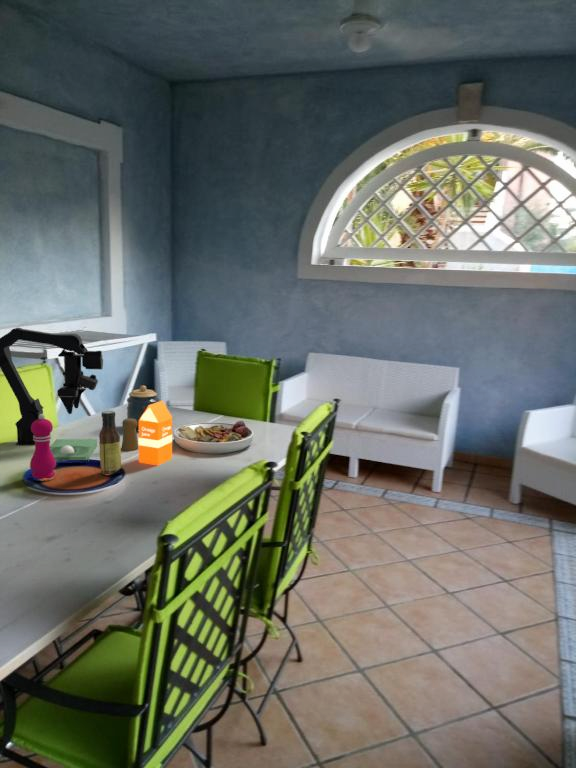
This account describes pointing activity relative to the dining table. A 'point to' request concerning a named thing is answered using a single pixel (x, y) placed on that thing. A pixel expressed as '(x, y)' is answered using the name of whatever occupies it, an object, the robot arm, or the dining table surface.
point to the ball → (67, 449)
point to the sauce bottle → (109, 444)
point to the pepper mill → (42, 449)
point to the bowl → (213, 437)
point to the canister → (140, 403)
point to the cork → (129, 435)
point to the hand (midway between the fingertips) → (73, 410)
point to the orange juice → (155, 435)
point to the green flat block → (80, 446)
